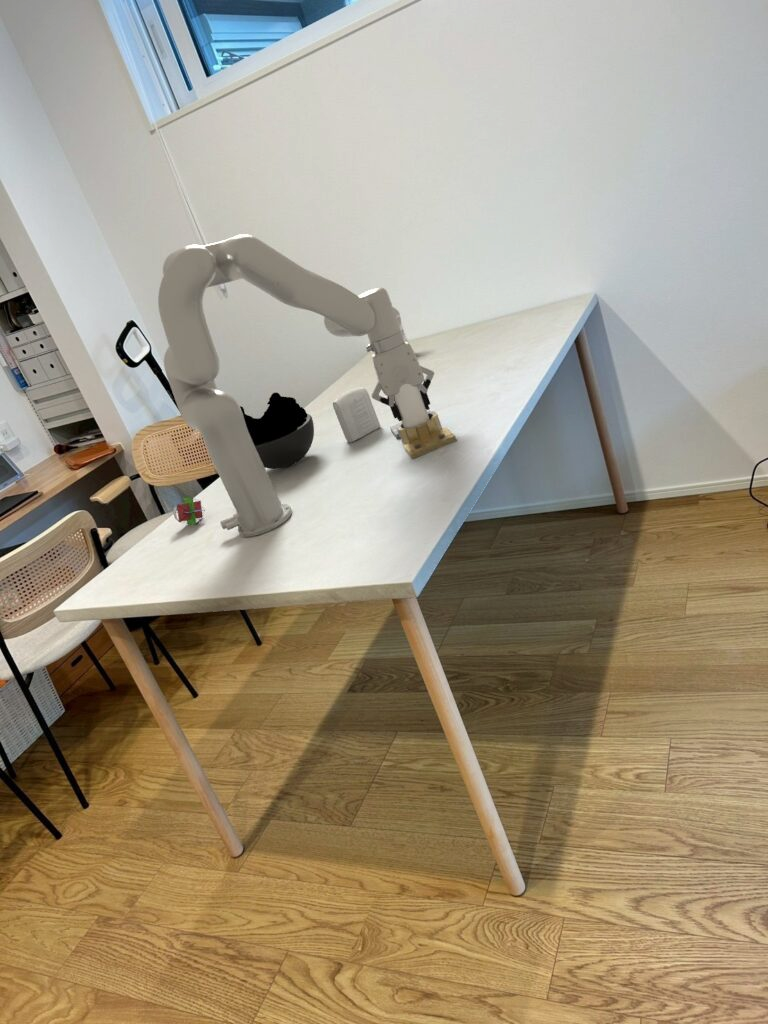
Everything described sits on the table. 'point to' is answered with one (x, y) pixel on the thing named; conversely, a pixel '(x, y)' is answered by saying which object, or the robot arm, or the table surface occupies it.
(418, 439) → the brass ring mounting bracket
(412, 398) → the can
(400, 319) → the plastic bottle
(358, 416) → the white engraved tombstone
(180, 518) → the geometric puzzle
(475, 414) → the table surface
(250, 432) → the coal bowl
